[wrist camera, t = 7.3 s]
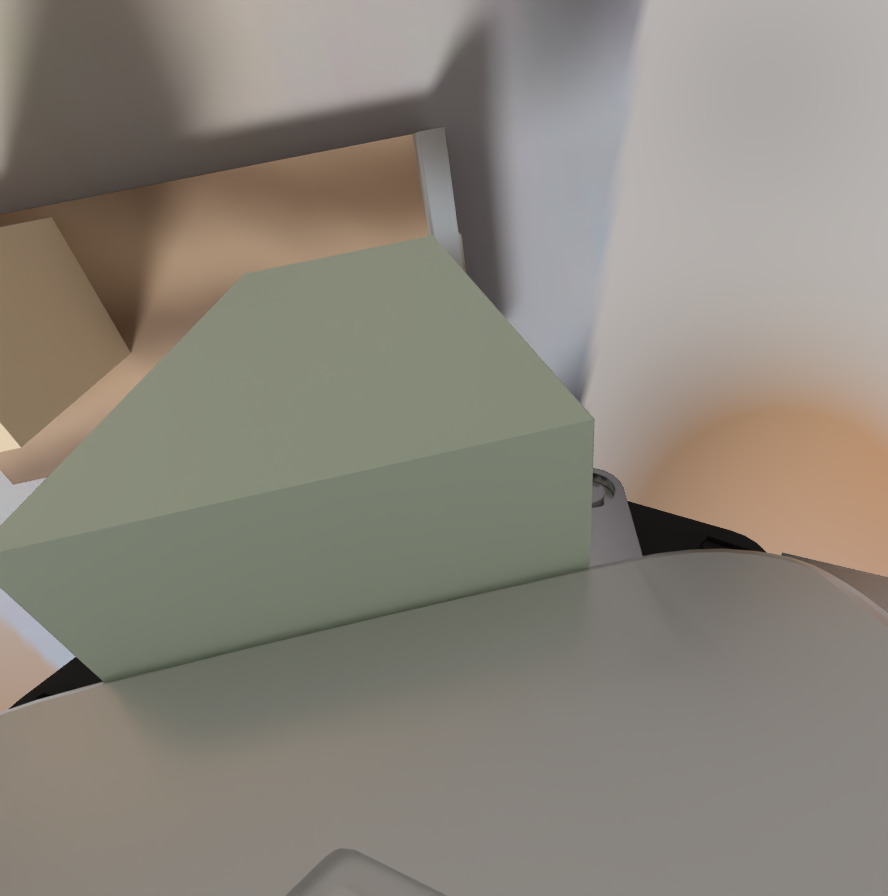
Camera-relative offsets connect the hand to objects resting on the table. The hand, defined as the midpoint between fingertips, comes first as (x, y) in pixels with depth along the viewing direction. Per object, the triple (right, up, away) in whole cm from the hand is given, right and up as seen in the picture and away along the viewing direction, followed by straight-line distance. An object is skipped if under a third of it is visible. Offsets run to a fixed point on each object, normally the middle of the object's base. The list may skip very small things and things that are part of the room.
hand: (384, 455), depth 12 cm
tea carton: (-1, +2, +2) cm, 3 cm away
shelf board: (-13, +8, +15) cm, 21 cm away
